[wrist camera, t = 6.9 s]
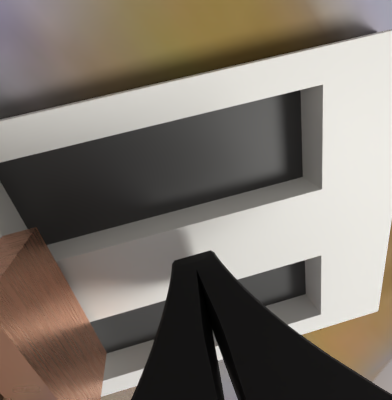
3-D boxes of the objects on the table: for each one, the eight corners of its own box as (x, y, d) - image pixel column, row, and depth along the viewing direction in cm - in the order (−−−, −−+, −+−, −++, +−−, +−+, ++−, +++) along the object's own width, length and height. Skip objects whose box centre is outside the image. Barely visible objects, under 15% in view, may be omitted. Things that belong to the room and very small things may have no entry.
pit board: (356, 289, 14) (378, 311, 13) (48, 381, 13) (37, 416, 12) (379, 31, 9) (419, 24, 8) (-131, 149, 8) (-186, 164, 7)
